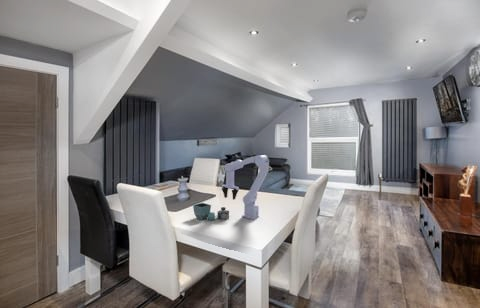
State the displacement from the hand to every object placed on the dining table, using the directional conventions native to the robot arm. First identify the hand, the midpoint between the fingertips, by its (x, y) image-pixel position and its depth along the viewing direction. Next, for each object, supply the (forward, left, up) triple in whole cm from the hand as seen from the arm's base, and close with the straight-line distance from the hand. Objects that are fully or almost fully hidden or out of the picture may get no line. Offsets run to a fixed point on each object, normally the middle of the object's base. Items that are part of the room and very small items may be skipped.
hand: (229, 198), depth 172 cm
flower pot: (+7, +21, -11) cm, 25 cm away
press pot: (-4, +12, -10) cm, 16 cm away
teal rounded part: (0, +20, -10) cm, 22 cm away
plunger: (-4, +12, -10) cm, 16 cm away
